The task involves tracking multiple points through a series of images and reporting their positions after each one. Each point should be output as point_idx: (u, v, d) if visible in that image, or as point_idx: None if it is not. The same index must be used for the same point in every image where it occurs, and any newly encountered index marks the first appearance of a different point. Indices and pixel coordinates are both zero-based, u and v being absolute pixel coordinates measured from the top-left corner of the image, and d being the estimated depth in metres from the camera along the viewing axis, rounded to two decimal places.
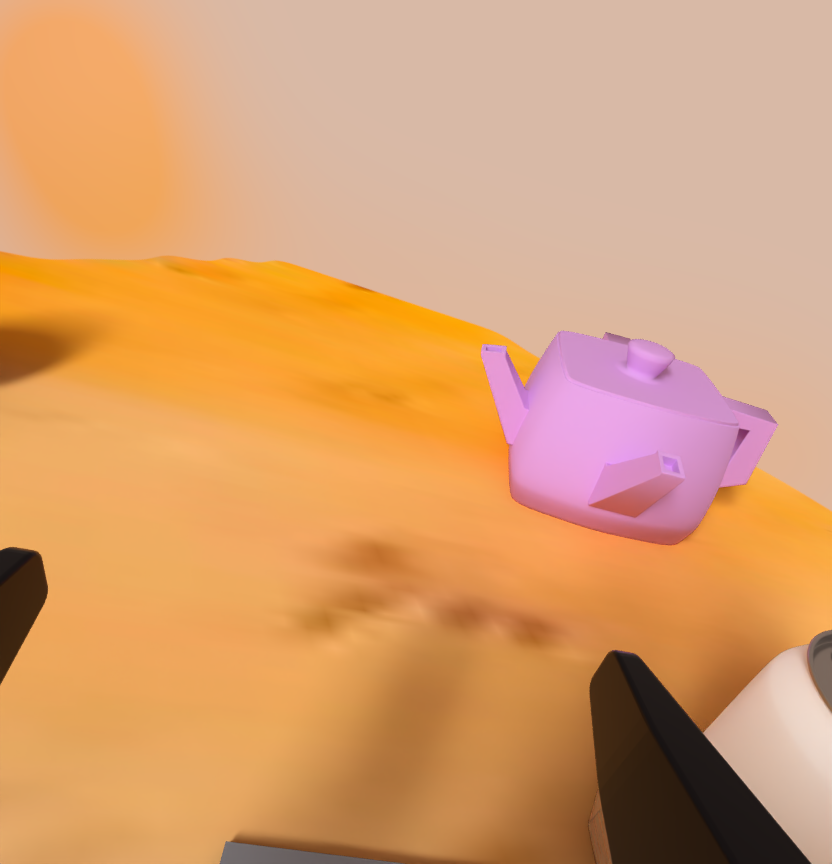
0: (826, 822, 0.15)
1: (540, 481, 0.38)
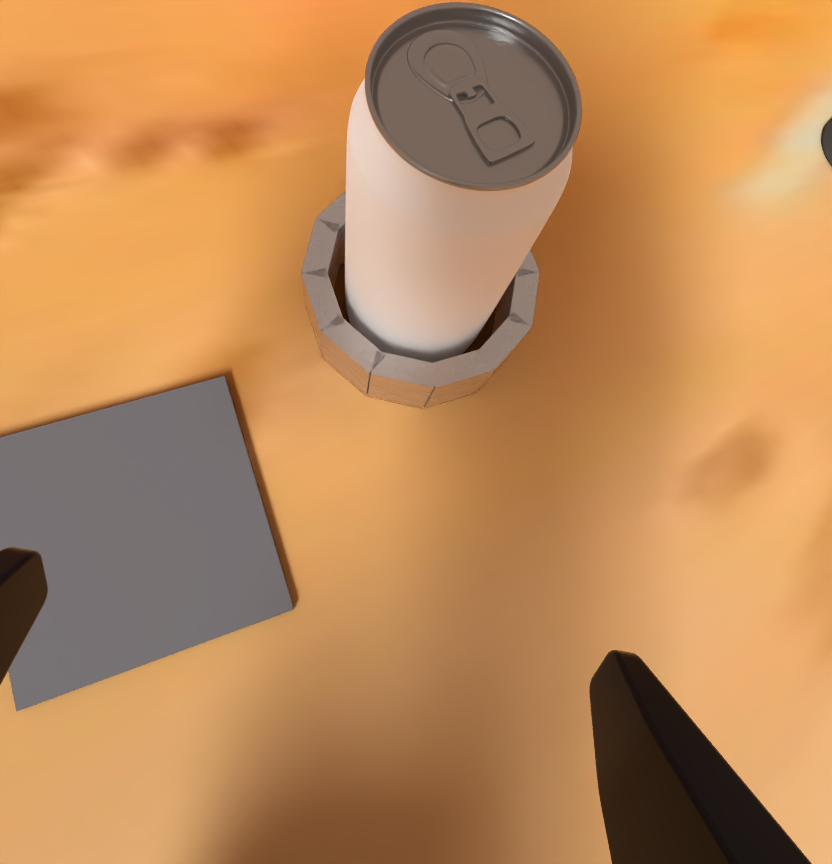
0: (400, 241, 0.15)
1: None
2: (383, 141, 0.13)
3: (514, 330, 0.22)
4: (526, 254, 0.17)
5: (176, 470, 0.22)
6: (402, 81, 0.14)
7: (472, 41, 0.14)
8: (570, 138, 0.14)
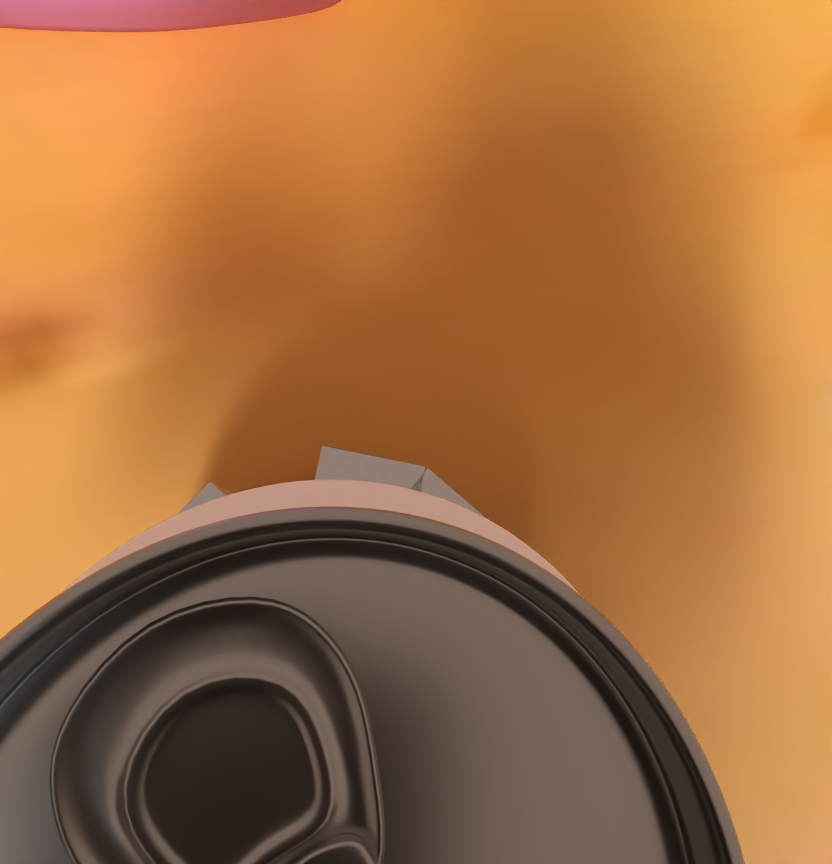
0: None
1: None
2: None
3: None
4: None
5: None
6: None
7: (332, 644, 0.04)
8: None
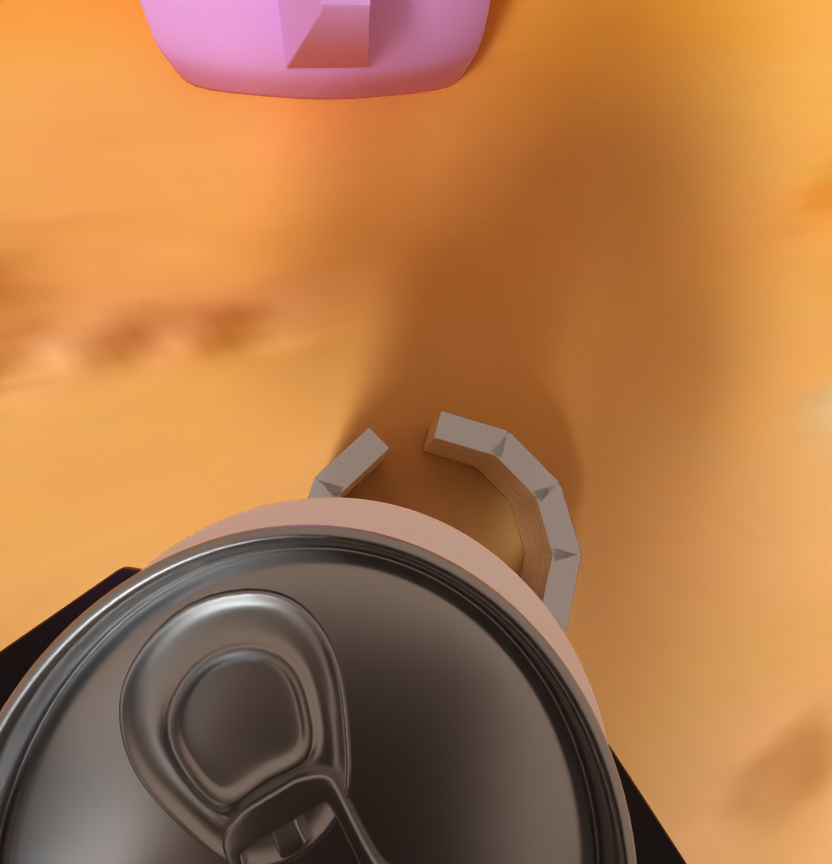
0: None
1: (192, 42, 0.21)
2: None
3: None
4: None
5: None
6: (91, 798, 0.05)
7: (319, 628, 0.05)
8: None
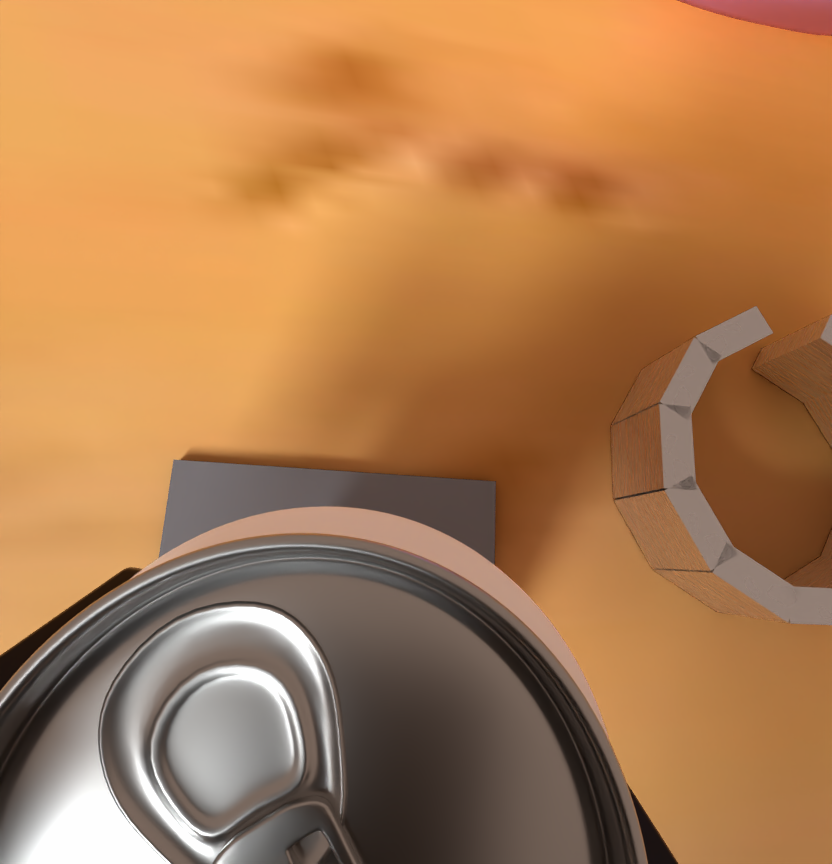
0: None
1: None
2: None
3: None
4: None
5: None
6: (67, 830, 0.04)
7: (315, 642, 0.05)
8: None
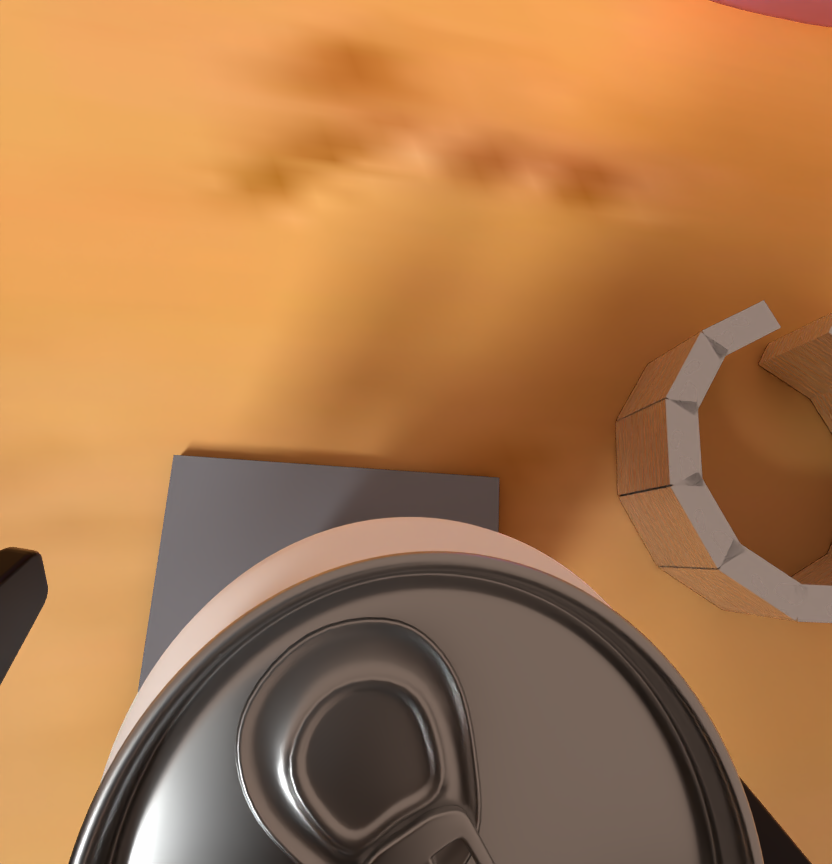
0: None
1: None
2: None
3: None
4: None
5: None
6: (208, 849, 0.04)
7: (445, 657, 0.05)
8: None
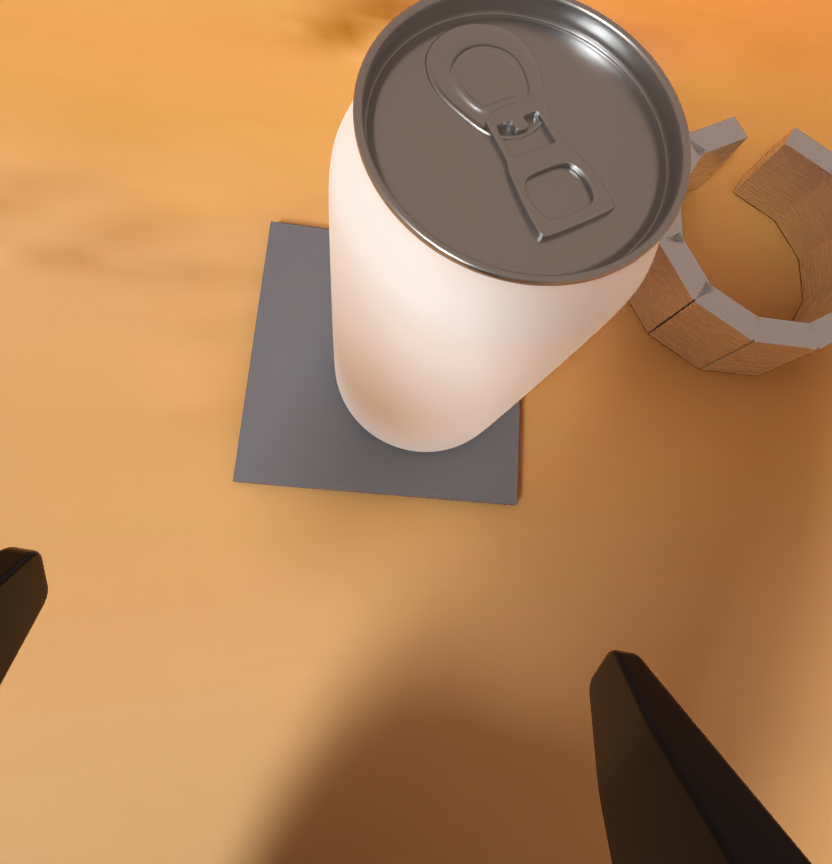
0: (397, 333, 0.10)
1: None
2: (376, 193, 0.08)
3: None
4: None
5: None
6: (414, 100, 0.09)
7: (526, 45, 0.09)
8: (671, 206, 0.09)
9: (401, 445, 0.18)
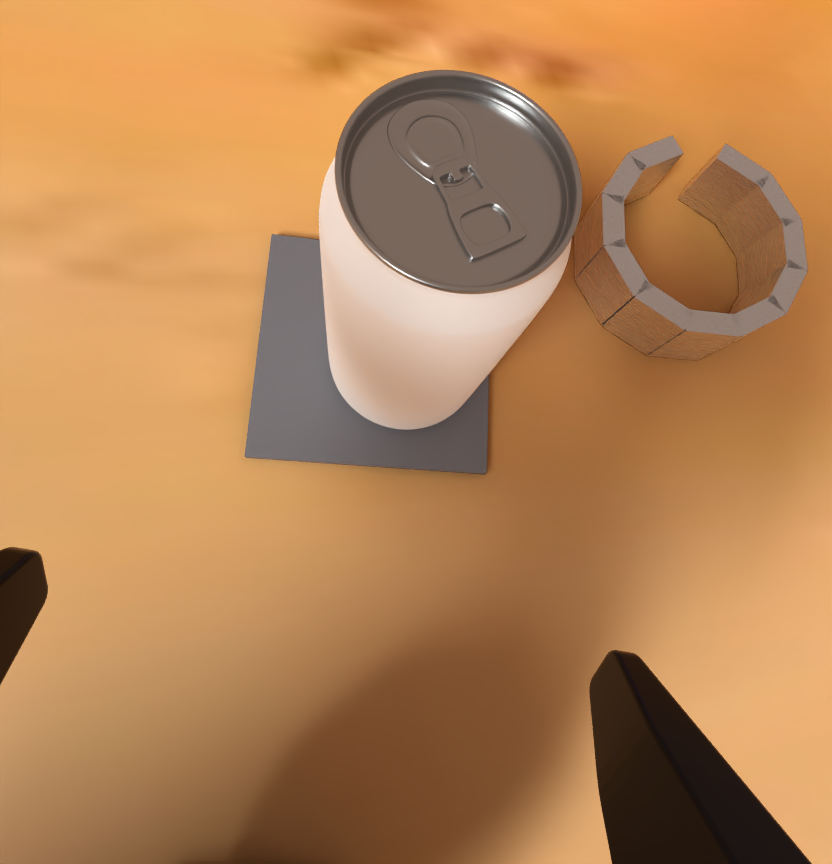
0: (373, 329, 0.14)
1: None
2: (352, 229, 0.12)
3: (770, 310, 0.24)
4: (517, 338, 0.16)
5: None
6: (379, 159, 0.12)
7: (462, 114, 0.13)
8: (566, 234, 0.12)
9: (386, 423, 0.22)
